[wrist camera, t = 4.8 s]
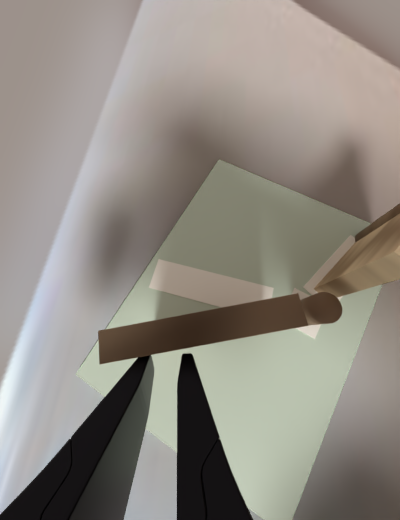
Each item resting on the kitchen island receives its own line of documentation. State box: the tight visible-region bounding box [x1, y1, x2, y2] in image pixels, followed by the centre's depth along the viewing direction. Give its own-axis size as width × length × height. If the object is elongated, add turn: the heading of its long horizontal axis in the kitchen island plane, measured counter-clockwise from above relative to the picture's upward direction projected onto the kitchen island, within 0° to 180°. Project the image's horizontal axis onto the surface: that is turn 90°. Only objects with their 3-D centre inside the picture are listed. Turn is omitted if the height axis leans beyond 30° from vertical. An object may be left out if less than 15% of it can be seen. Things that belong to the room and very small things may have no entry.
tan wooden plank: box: [98, 293, 308, 365], centre depth 12 cm, size 8×1×8 cm, turn 100°
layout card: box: [76, 159, 382, 520], centre depth 17 cm, size 16×21×1 cm
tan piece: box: [301, 204, 400, 325], centre depth 13 cm, size 2×9×9 cm, turn 134°
